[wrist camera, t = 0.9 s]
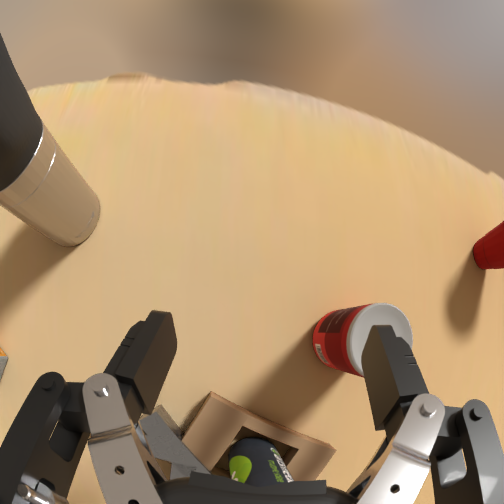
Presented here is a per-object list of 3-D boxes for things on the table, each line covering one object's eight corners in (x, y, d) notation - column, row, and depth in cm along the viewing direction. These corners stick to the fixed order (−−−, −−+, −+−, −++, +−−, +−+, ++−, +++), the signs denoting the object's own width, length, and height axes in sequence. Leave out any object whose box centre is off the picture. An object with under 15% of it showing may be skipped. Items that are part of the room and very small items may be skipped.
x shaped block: (178, 511, 24) (176, 523, 22) (93, 417, 27) (84, 423, 24) (235, 487, 27) (236, 498, 24) (148, 386, 29) (142, 392, 27)
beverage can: (285, 447, 29) (325, 507, 15) (256, 478, 28) (280, 546, 13) (247, 426, 30) (269, 486, 15) (218, 458, 28) (222, 527, 14)
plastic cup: (463, 269, 40) (510, 252, 28) (467, 221, 43) (508, 199, 31) (490, 291, 40) (534, 279, 28) (494, 245, 43) (532, 228, 31)
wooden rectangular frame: (170, 453, 27) (167, 461, 25) (211, 391, 30) (210, 396, 28) (287, 499, 27) (291, 508, 24) (329, 443, 30) (336, 450, 28)
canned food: (352, 374, 33) (399, 388, 22) (300, 356, 33) (336, 368, 22) (370, 322, 35) (421, 317, 25) (322, 301, 35) (364, 290, 25)
